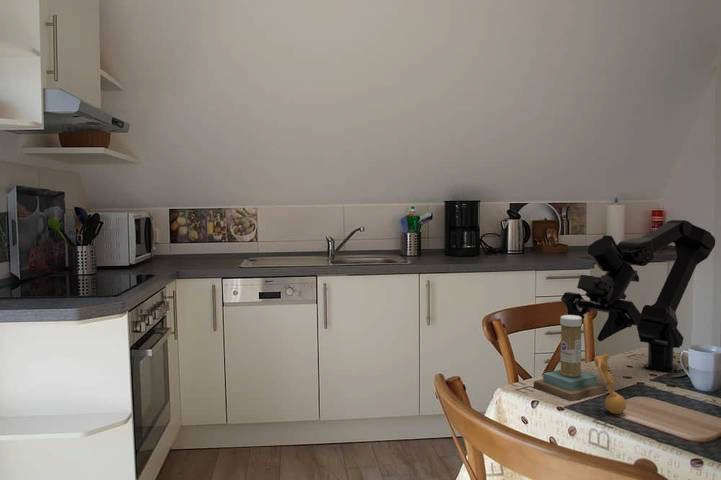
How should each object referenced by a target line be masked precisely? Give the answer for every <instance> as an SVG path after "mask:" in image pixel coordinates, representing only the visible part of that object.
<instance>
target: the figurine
mask: <svg viewBox="0 0 721 480" xmlns="http://www.w3.org/2000/svg"><path fill="white" fill-rule="evenodd" d="M609 359H610V357H609V354H608V353H605V354H602V355H597V356H594V359H593V360H594V361H593V362H594V364H595V365H596V368H597V370H598V372H599V373H600V375H601V377H602V380H603V382H604V384H605V385H606V384H607V385H606V391H608V393H609V394H608V395H607V396H606V397H605V399H604V405H605V408H606V410H607V411H608V412H609V413H611V414H613V415H620V414H621V413H624V411H625V410H626V409H627V401H626V399H625V398H624V397H623V395H621V394H619V393H618V392H616V391H614V390H613V389H612V386H614V384H615V381H616V379H615V378H614V377H613V376H612V374H613V373H614V372H613V369H611V367H610V366H609V363H608V360H609ZM608 370H609V371H608Z"/></svg>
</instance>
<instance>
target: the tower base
mask: <svg viewBox="0 0 721 480" xmlns="http://www.w3.org/2000/svg"><path fill="white" fill-rule="evenodd" d="M560 371H561V369H557V370H552V371H548V372H544V373H543V375H542V376H543V378H542V379H538V380H534V381H533V388H534V389H536V388H537V389H536V390H538V391H539V390H540V391H542V392H543V393H544V392H546V393H547V394H550V395H553V396H556V397H559V398H561V399H564V400H566V401H570V402H574V401H578V400H581V399H586V398H589V397H593V396H597V395H601V394H605V393H607V385H606V384H605V385H604V384H601V383H600V382H599V383H598V382H597V376H596V375H592V374H589V373H585V372H583V371H581V376H579V377H566V376H563V375H561V373H560Z"/></svg>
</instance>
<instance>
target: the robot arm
mask: <svg viewBox="0 0 721 480" xmlns="http://www.w3.org/2000/svg"><path fill="white" fill-rule="evenodd" d="M671 244H674V250H675V255H676V258H675V260H674V262H673V264H672V266H671V269H670V270H669V273H668V275H667V277H666V279H665V282H664V284H663V286H662V288H661V290H660V292H659V294H658V297H657V298H656V301H655V303H654V304H652V305H650V304H649V305H648V304H645V305H644V306H643V307H642V309H641V312H640V311H639V309H638V307H636V305H635V304H634V302H633V301H630V300H626V298H627V295H626V293H625V292H626V291H627V289H628V287H629V286H630V284H631V283H632V282H636V283H639V282H640V276H639V275H638V270H636V269H634V267H633V266H636V267H645V266H647V265H648V264H650V263H651V262H652V261H653V260H654V259H655V255H656V253H657V252H658V251H659V250H661V249H663V248H665V247H667V246H669V245H671ZM715 246H716V238H715V236H714V235H713V234H712V233H711V232H710V231H709V230H707V229H705V228H701V227H699V226H697V225H694V224H692V222H690V221H688V220H685V219H670V220H668V221H666V223H665V224H663V225H661V226H660V227H658V228H655V229H654V230H652V231H650V232H649V233H647V234H645V235H643V236H641V237H638V238H631V239H625V240H622V241H620V242H618V243H616V241H615V239H614V237H613V236H612V235H603V236H602V238H599V239H596V240H595V241H593V242H592V243H591V244H589V246H588V247H587V254H588V255H589V257H590V258H591V260H593V262H594V263H595V264H596V266H597V267H598V268H599V270H600V271H603V272H605V274H603V275H601V276H600V277H599V276H594V275H587V274H581V275H580V276H579V280H578V282H577V285H576V288H577V289H579V290H582V291H584V292H585V296H586V297H587V298H589V299H585V298H584V297H583V296H582V295H581V293H579V292H571V291H566V292H564V293H563V295H562V296H561V298H560V301H561V302H562V303H563V305H564V306H565V307H566V309H567V314H566V315H575V316H580V317H581V318H582V321H583V320H584V319H585V314H587V313H588V312H589V310H591V311H597V312H601V313H606V314H608V316H607V317H608V318H607V319H606V321H605V323H603V324H604V325H603V326H602V328H601V330H600V331H599V333H598V335H597V338H596V339H597V341H598V342H603V341H604V340H606V339H607V338H609V337H611V336H613V335H614V334H615V335H616V333H619V332H621V331H623V330H625V329H627V328H632V327H633V326H635V327H636V330H637V333H638V338H639V342H640V343H647V346H648V347H647V348H648V349H647V363H646V364H644V365H643V368H644V369H648V370H655V371H660V372H665V373H666V372H667V373H672V372H673V371H674V370H676V369H677V368H678V364H674V348H676V349H679V348H680V347H682V346H683V342H684V336H683V335H682V333H681V332H680V331H679V329H678V324H679V322H678V318H677V314H676V313H677V309H678V307H679V306H680V303H681V300H682V298H683V296H684V294H685V292H686V290H687V287H688V285H689V282H690V281H691V279H692V276H693V275H694V274H693V273H694V272H695V271H696V270H695V269H696V267H697V265H699V264H700V263H702V262H704V260H706V259H708V257H709V256H710V254H711V253H712V251H713V249H714V248H715Z"/></svg>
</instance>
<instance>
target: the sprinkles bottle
mask: <svg viewBox="0 0 721 480" xmlns="http://www.w3.org/2000/svg"><path fill="white" fill-rule="evenodd" d="M559 319H560V320H559V321H560V322H559V323H560V328H561V329H560V332H561V333H560V335H561V336H560V370H561V371H560V373H561V375H563V376H566V377H579V376H581V372H582V371H581V370H582V325H583V320H582V318H581V317H580V316H575V315H567V314H564V315H561V316H560V318H559Z"/></svg>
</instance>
